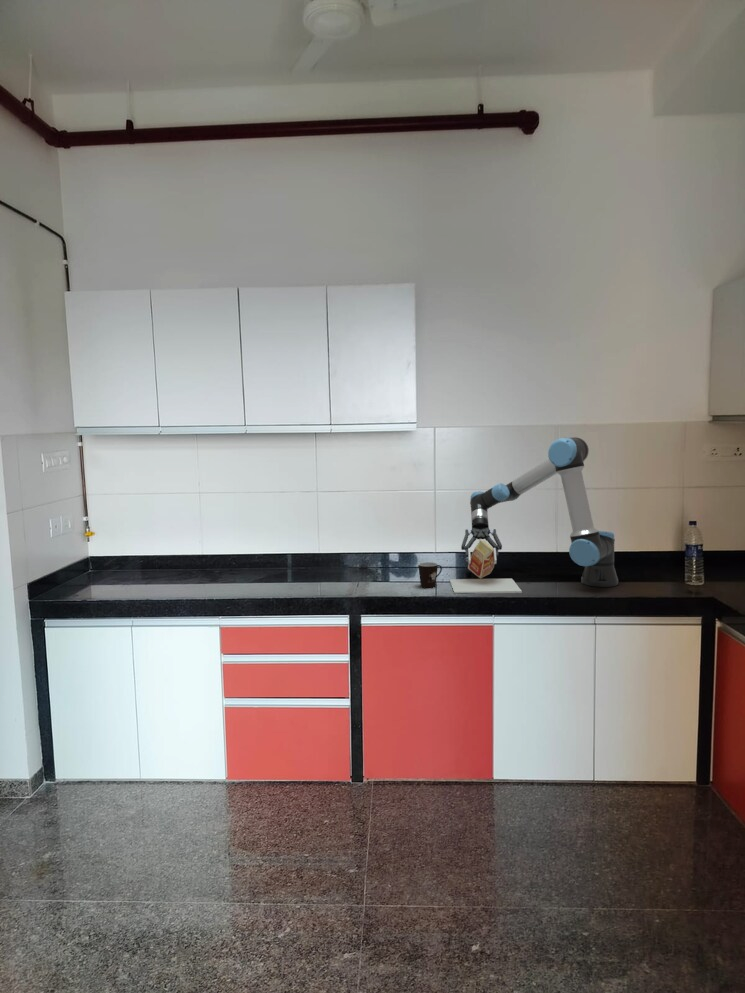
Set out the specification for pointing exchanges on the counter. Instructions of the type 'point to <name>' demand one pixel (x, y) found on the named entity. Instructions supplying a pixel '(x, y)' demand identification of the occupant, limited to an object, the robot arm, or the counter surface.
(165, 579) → the counter surface
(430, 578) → the coffee mug
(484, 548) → the milk carton
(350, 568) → the counter surface
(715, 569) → the counter surface
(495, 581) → the mat
